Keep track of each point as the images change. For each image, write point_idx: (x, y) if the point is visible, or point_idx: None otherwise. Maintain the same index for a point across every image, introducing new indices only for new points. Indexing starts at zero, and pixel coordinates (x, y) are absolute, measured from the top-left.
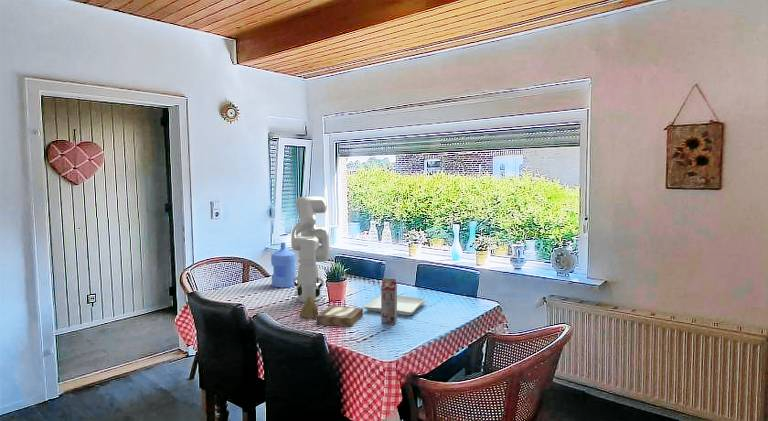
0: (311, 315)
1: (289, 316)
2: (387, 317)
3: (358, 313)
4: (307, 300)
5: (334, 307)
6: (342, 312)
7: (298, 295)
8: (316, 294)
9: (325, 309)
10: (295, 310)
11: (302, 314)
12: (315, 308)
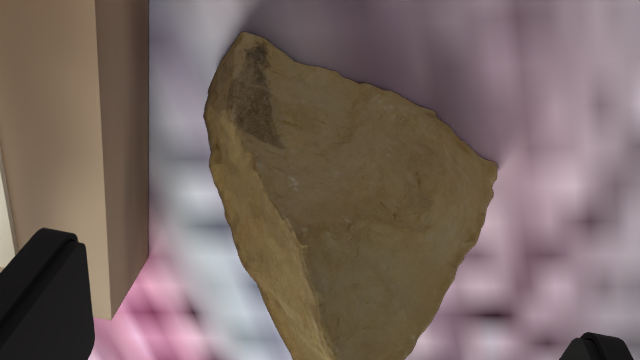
0: (301, 84)
1: (631, 135)
2: None
3: None
4: (385, 318)
5: (10, 246)
6: None
7: (612, 339)
8: (17, 272)
9: (96, 174)
10: (560, 337)
11: (448, 147)
12: (228, 157)
